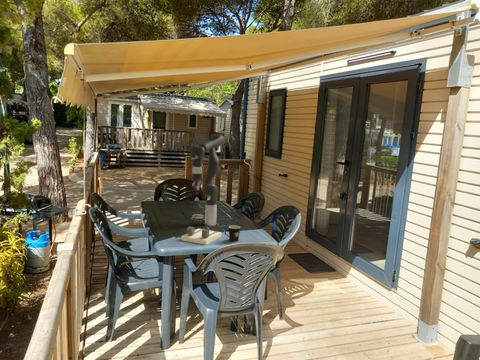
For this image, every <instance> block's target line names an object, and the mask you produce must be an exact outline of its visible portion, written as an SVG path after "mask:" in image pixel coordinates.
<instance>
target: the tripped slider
mask: <svg viewBox="0 0 480 360" xmlns="http://www.w3.org/2000/svg"><path fill="white" fill-rule="evenodd" d="M195 230H196V229H195V227H193V226H188V227H187V228H186V234H187V235H194V231H195Z"/></svg>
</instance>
